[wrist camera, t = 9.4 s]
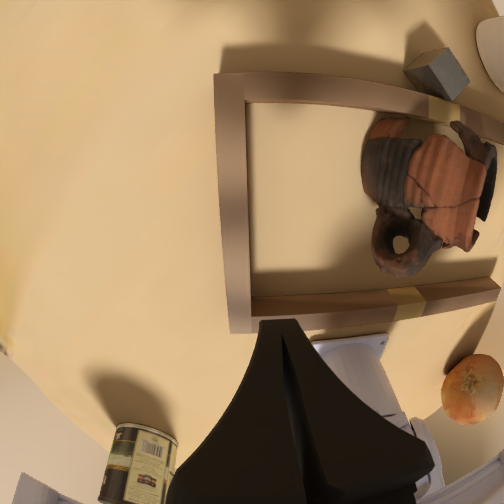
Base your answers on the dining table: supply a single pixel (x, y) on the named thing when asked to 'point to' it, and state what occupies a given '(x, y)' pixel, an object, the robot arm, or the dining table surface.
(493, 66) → the pill bottle
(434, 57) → the block
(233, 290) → the walnut slot beam
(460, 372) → the onion
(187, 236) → the dining table surface
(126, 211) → the dining table surface
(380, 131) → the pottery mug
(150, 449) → the coffee can
